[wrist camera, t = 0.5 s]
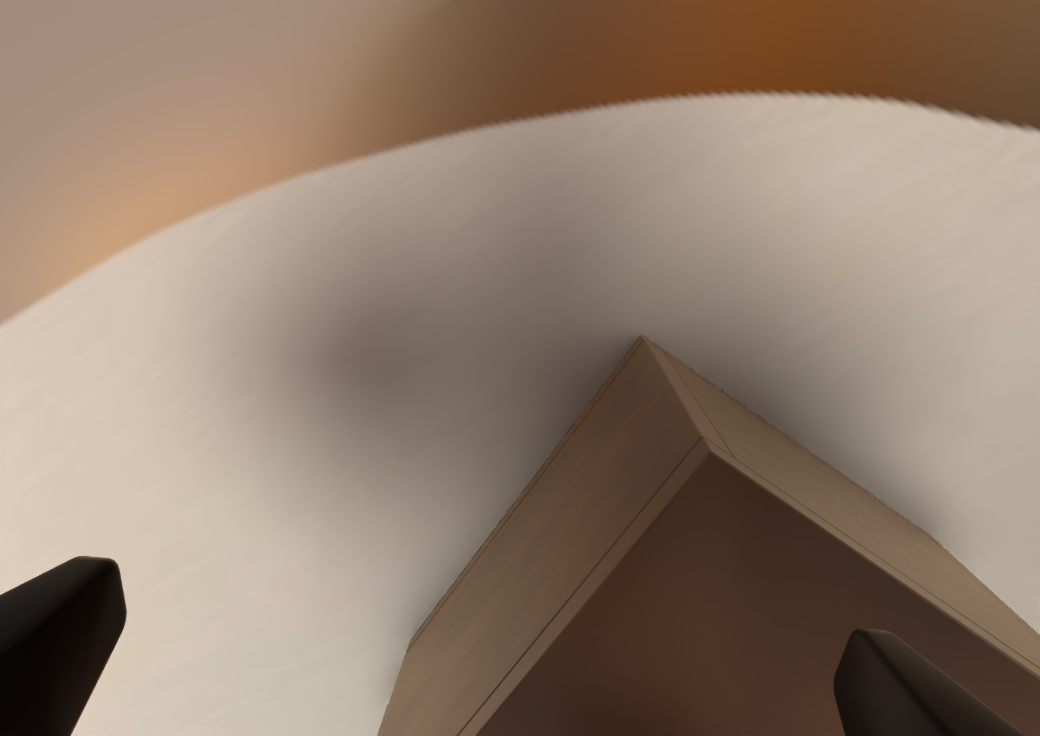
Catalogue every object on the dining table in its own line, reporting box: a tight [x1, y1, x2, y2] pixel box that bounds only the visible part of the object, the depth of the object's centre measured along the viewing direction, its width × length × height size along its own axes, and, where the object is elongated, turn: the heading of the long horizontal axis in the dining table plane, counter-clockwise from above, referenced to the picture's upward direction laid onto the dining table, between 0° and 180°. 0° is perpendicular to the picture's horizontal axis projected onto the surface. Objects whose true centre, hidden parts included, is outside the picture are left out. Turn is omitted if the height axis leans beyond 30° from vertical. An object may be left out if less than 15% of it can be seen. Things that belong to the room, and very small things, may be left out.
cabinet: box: [378, 336, 1040, 736], centre depth 19 cm, size 15×13×11 cm
